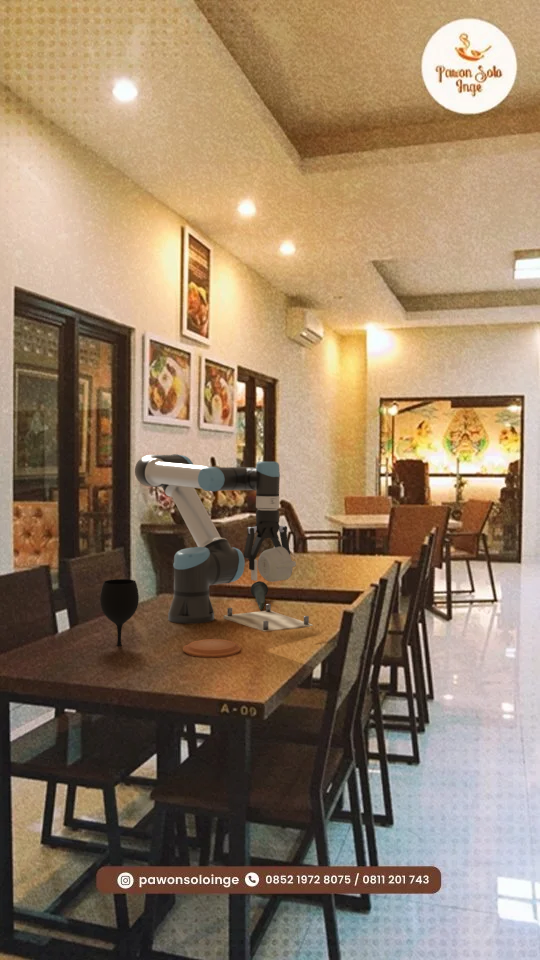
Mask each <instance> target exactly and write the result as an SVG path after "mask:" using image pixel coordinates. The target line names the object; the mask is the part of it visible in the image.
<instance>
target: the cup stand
mask: <svg viewBox="0 0 540 960" xmlns="http://www.w3.org/2000/svg"><path fill="white" fill-rule="evenodd" d="M271 605H272V604H271V603H266V604H265V610H260V611H253V612H252V611H251V612H243V613H234V614H233V607H227V608H226V609H227V610H226V611H227V613H226V614H224V615H223V620H224V619H225V620H227V621H231V622H234V623H236V624H239V625H244V626H246V627H249V628H251V629H255V630H258V631H261V632H264V633H265V632H272V631H280V630H281V631H282V630H294V629H302V628H305V627H310V626H313V627H314V625H313V624H312V623H309V622H310V616H309V615H304V616H303V621H302V620H300V619H297V618H295V617H291V616H288V615H285V614H282V613H279V612H275V611H273V610H271V608H272V607H271Z"/></svg>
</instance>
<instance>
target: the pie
mask: <svg viewBox="0 0 540 960" xmlns="http://www.w3.org/2000/svg"><path fill="white" fill-rule="evenodd" d="M182 649H183V650H182V651H183V652H184V653H185V655H188V656H192V657H199V658H223V657H229V656H235V655H237V654H239V653H240V651H241V649H242V647H241V646H240V645H239V644H238V643H235V642H234V641H232V640H228V639H220V638H208V639H206V638H204V639H197V640H194V641H191V642H189V643H188V644H186V645H183V647H182Z"/></svg>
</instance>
